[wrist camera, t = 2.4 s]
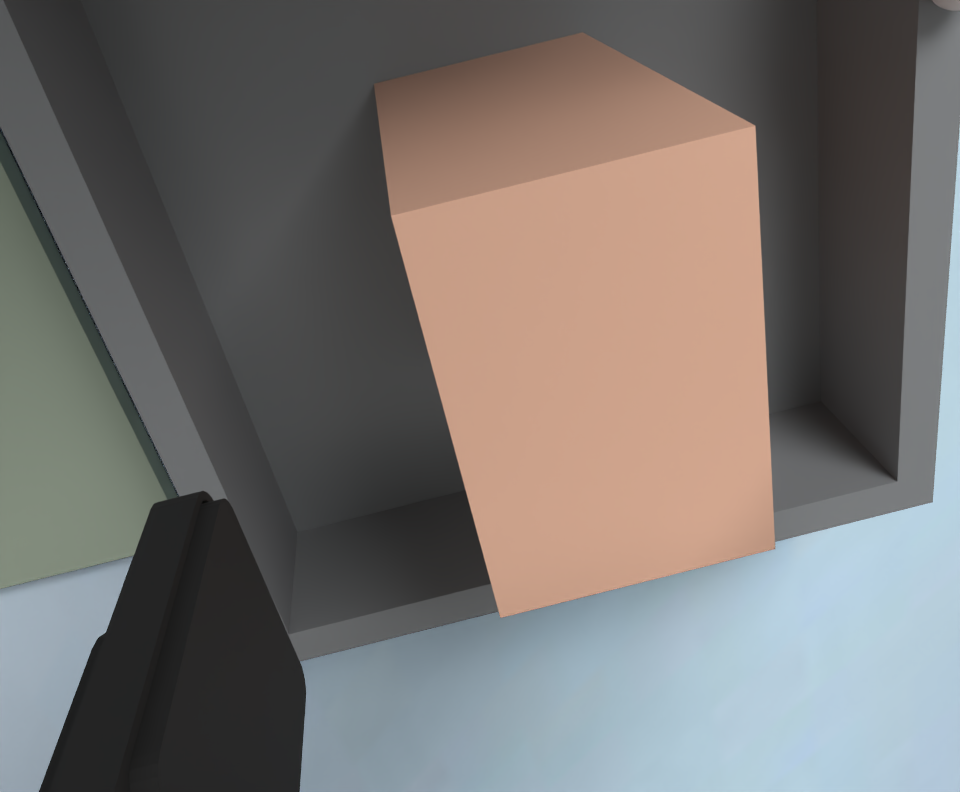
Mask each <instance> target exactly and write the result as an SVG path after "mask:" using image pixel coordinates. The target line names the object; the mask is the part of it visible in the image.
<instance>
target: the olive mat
mask: <svg viewBox="0 0 960 792" xmlns="http://www.w3.org/2000/svg"><path fill="white" fill-rule="evenodd" d="M176 497H178V496H177V494H176V492H175V490H174V488H173V485H172V483H171V481H170V479H169V477H168V475H167V473H166V471H165V469H164V467H163V465H162V463H161V461H160V459H159V457H158V455H157V453H156V451H155V448H154V446H153V444H152V442H151V440H150V438H149V436H148V434H147V432H146V430H145V428H144V426H143V424H142V422H141V420H140V418H139V416H138V413H137V411H136V409H135V407H134V405H133V403H132V401H131V399H130V397H129V395H128V393H127V391H126V389H125V387H124V385H123V383H122V381H121V378H120V376H119V374H118V372H117V370H116V368H115V366H114V364H113V362H112V360H111V358H110V356H109V354H108V352H107V350H106V348H105V346H104V344H103V341H102V339H101V337H100V335H99V333H98V331H97V329H96V327H95V325H94V323H93V321H92V319H91V317H90V315H89V313H88V311H87V309H86V306H85V304H84V302H83V300H82V298H81V296H80V294H79V292H78V290H77V288H76V286H75V284H74V282H73V280H72V278H71V276H70V274H69V271H68V269H67V267H66V265H65V263H64V261H63V259H62V257H61V255H60V253H59V251H58V249H57V247H56V245H55V243H54V241H53V239H52V236H51V234H50V232H49V230H48V228H47V226H46V224H45V222H44V220H43V218H42V216H41V214H40V212H39V210H38V208H37V206H36V204H35V202H34V199H33V197H32V195H31V193H30V191H29V189H28V187H27V185H26V183H25V181H24V179H23V177H22V175H21V173H20V171H19V169H18V167H17V164H16V162H15V160H14V158H13V156H12V154H11V152H10V150H9V148H8V146H7V144H6V142H5V140H4V138H3V136H2V134H1V132H0V589H2V588H6V587H10V586H14V585H18V584H22V583H26V582H30V581H34V580H38V579H42V578H46V577H50V576H54V575H58V574H62V573H66V572H70V571H74V570H78V569H82V568H86V567H90V566H94V565H98V564H102V563H106V562H110V561H114V560H118V559H122V558H126V557H130V556H134V554H135V551H136V548H137V545H138V543H139V540H140V537H141V534H142V531H143V529H144V526H145V523H146V520H147V518H148V515H149V512H150V509H151V508H152V506H153V504H154V503H157V502H160V501H164V500H168V499H172V498H176Z"/></svg>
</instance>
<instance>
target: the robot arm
mask: <svg viewBox="0 0 960 792" xmlns="http://www.w3.org/2000/svg"><path fill="white" fill-rule="evenodd" d="M305 702H306V686H305V679H304V674H303V670H302V666H301V664H300V661H299V659H298V656H297V654H296V652H295V650H294V647H293V645H292V643H291V640H290V638H289V636H288V634H287V631H286V629H285V627H284V624H283V622H282V620H281V617H280V615H279V613H278V611H277V608H276V606H275V604H274V601H273V599H272V597H271V595H270V592H269V590H268V588H267V585H266V583H265V581H264V579H263V576H262V574H261V572H260V569H259V567H258V565H257V563H256V560H255V558H254V556H253V553H252V551H251V549H250V547H249V544H248V542H247V540H246V537H245V535H244V533H243V531H242V528H241V526H240V524H239V521H238V519H237V517H236V515H235V512H234V510H233V508H232V506H231V504H230V503H229V502H228V500H226V499H224V498H223V499H219V500H215V501H214V500H213V499H212V497H211V496H210V495H209V494H208V492H205V491H200V492H196V493H192V494H188V495H184V496H180V497H176V498H172V499H168V500H164V501H160V502H157V503H154V504H153V506H152V508H151V509H150V512H149V515H148V518H147V520H146V523H145V526H144V529H143V531H142V534H141V537H140V540H139V543H138V545H137V548H136V551H135V554H134V556H133V559H132V562H131V565H130V568H129V570H128V573H127V576H126V579H125V581H124V584H123V587H122V590H121V593H120V595H119V598H118V601H117V604H116V606H115V609H114V612H113V615H112V618H111V620H110V623H109V626H108V629H107V631H106V633H105V634H103V635H102V636H100V637H99V638H98V639H97V641H96V643H95V645H94V646H93V648H92V650H91V653H90V656H89V659H88V661H87V664H86V667H85V669H84V672H83V675H82V677H81V680H80V683H79V685H78V688H77V691H76V694H75V696H74V699H73V702H72V704H71V707H70V710H69V712H68V715H67V718H66V720H65V723H64V726H63V729H62V731H61V734H60V737H59V739H58V742H57V745H56V747H55V750H54V753H53V755H52V758H51V761H50V764H49V766H48V769H47V772H46V774H45V777H44V780H43V782H42V785H41V788H40V790H39V792H299V791H300V776H301V761H302V746H303V732H304V717H305Z"/></svg>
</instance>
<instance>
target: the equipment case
mask: <svg viewBox="0 0 960 792" xmlns="http://www.w3.org/2000/svg"><path fill="white" fill-rule="evenodd" d="M582 32H583V33H585V34H587V35H588V36H590V37H592V38H594V39H596V40H598V41H600V42H601V43H603V44H605V45H607V46H609V47H611V48H613V49H614V50H616V51H618V52H620V53H622V54H624V55H625V56H627V57H629V58H631V59H633V60H635V61H637V62H638V63H640V64H642V65H644V66H646V67H648V68H650V69H651V70H653V71H655V72H657V73H659V74H661V75H663V76H664V77H666V78H668V79H670V80H672V81H674V82H675V83H677V84H679V85H681V86H683V87H685V88H687V89H688V90H690V91H692V92H694V93H696V94H698V95H700V96H701V97H703V98H705V99H707V100H709V101H711V102H713V103H714V104H716V105H718V106H720V107H722V108H724V109H725V110H727V111H729V112H731V113H733V114H735V115H737V116H738V117H740V118H742V119H744V120H746V121H748V122H750V123H751V124H753V125H755V127H756V149H757V170H758V192H759V213H760V234H761V256H762V277H763V298H764V320H765V341H766V362H767V384H768V405H769V426H770V448H771V469H772V491H773V512H774V533H775V542H776V541H780V540H784V539H788V538H792V537H796V536H800V535H804V534H808V533H812V532H816V531H820V530H824V529H828V528H832V527H836V526H840V525H844V524H848V523H852V522H856V521H860V520H864V519H867V518H871V517H875V516H879V515H883V514H887V513H891V512H895V511H899V510H903V509H907V508H911V507H915V506H919V505H923V504H927V503H931V502H933V489H934V475H935V461H936V447H937V433H938V419H939V405H940V391H941V377H942V363H943V349H944V335H945V321H946V307H947V293H948V279H949V265H950V251H951V237H952V223H953V209H954V195H955V181H956V167H957V153H958V139H959V125H960V0H0V127H1V129H2V132H3V134H4V136H5V138H6V140H7V142H8V144H9V146H10V148H11V150H12V152H13V154H14V156H15V158H16V160H17V162H18V165H19V167H20V169H21V171H22V173H23V175H24V177H25V179H26V181H27V183H28V185H29V187H30V189H31V191H32V193H33V195H34V198H35V200H36V202H37V204H38V206H39V208H40V210H41V212H42V214H43V216H44V218H45V220H46V222H47V224H48V226H49V228H50V231H51V233H52V235H53V237H54V239H55V241H56V243H57V245H58V247H59V249H60V251H61V253H62V255H63V257H64V259H65V261H66V264H67V266H68V268H69V270H70V272H71V274H72V276H73V278H74V280H75V282H76V284H77V286H78V288H79V290H80V292H81V294H82V297H83V299H84V301H85V303H86V305H87V307H88V309H89V311H90V313H91V315H92V317H93V319H94V321H95V323H96V325H97V327H98V330H99V332H100V334H101V336H102V338H103V340H104V342H105V344H106V346H107V348H108V350H109V352H110V354H111V356H112V358H113V360H114V363H115V365H116V367H117V369H118V371H119V373H120V375H121V377H122V379H123V381H124V383H125V385H126V387H127V389H128V391H129V393H130V396H131V398H132V400H133V402H134V404H135V406H136V408H137V410H138V412H139V414H140V416H141V418H142V420H143V422H144V424H145V426H146V429H147V431H148V433H149V435H150V437H151V439H152V441H153V443H154V445H155V447H156V449H157V451H158V453H159V455H160V457H161V460H162V462H163V464H164V466H165V468H166V470H167V472H168V474H169V476H170V478H171V480H172V482H173V484H174V486H175V488H176V490H177V493H178V495H179V497H180V496H184V495H188V494H192V493H196V492H200V491H205V492H208V494H209V495H210V496H211V497H212V499H213V500H214V501H215V500H219V499H223V498H224V499H226V500H228V502H229V503H230V504H231V506H232V508H233V510H234V512H235V515H236V517H237V519H238V521H239V524H240V526H241V528H242V531H243V533H244V535H245V537H246V540H247V542H248V544H249V547H250V549H251V551H252V553H253V556H254V558H255V560H256V563H257V565H258V567H259V569H260V572H261V574H262V576H263V579H264V581H265V583H266V585H267V588H268V590H269V592H270V595H271V597H272V599H273V601H274V604H275V606H276V608H277V611H278V613H279V615H280V617H281V620H282V622H283V624H284V627H285V629H286V631H287V634H288V636H289V638H290V640H291V643H292V645H293V647H294V650H295V652H296V654H297V656H298V659H299V661H303V660H307V659H311V658H315V657H319V656H323V655H327V654H331V653H335V652H339V651H343V650H347V649H351V648H355V647H359V646H363V645H367V644H371V643H375V642H379V641H383V640H387V639H391V638H395V637H399V636H403V635H407V634H411V633H415V632H419V631H423V630H427V629H431V628H434V627H438V626H442V625H446V624H450V623H454V622H458V621H462V620H466V619H470V618H474V617H478V616H482V615H486V614H490V613H494V612H498V607H497V603H496V600H495V596H494V592H493V589H492V585H491V581H490V578H489V574H488V570H487V567H486V563H485V559H484V556H483V552H482V548H481V545H480V541H479V537H478V534H477V530H476V526H475V523H474V519H473V515H472V512H471V508H470V504H469V501H468V497H467V493H466V490H465V486H464V482H463V479H462V475H461V471H460V468H459V464H458V460H457V456H456V453H455V449H454V445H453V442H452V438H451V434H450V431H449V427H448V423H447V420H446V416H445V412H444V409H443V405H442V401H441V398H440V394H439V390H438V387H437V383H436V379H435V376H434V372H433V368H432V365H431V361H430V357H429V354H428V350H427V346H426V343H425V339H424V335H423V332H422V328H421V324H420V321H419V317H418V313H417V310H416V306H415V302H414V299H413V295H412V291H411V288H410V284H409V280H408V277H407V273H406V269H405V265H404V262H403V258H402V254H401V251H400V247H399V243H398V240H397V236H396V232H395V229H394V225H393V221H392V218H391V212H390V204H389V197H388V189H387V181H386V174H385V166H384V158H383V151H382V143H381V135H380V127H379V120H378V112H377V104H376V97H375V89H374V84H375V83H379V82H383V81H387V80H391V79H395V78H399V77H403V76H407V75H412V74H416V73H420V72H424V71H428V70H432V69H436V68H440V67H444V66H448V65H452V64H456V63H460V62H464V61H468V60H472V59H476V58H481V57H485V56H489V55H493V54H497V53H501V52H505V51H509V50H513V49H517V48H521V47H525V46H529V45H533V44H537V43H541V42H545V41H549V40H554V39H558V38H562V37H566V36H570V35H574V34H578V33H582Z"/></svg>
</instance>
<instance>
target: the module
mask: <svg viewBox="0 0 960 792" xmlns="http://www.w3.org/2000/svg"><path fill="white" fill-rule="evenodd" d="M374 89H375V97H376V104H377V112H378V120H379V127H380V135H381V143H382V151H383V158H384V166H385V174H386V181H387V189H388V197H389V204H390V212H391V218H392V221H393V225H394V229H395V232H396V236H397V240H398V243H399V247H400V251H401V254H402V258H403V262H404V265H405V269H406V273H407V277H408V280H409V284H410V288H411V291H412V295H413V299H414V302H415V306H416V310H417V313H418V317H419V321H420V324H421V328H422V332H423V335H424V339H425V343H426V346H427V350H428V354H429V357H430V361H431V365H432V368H433V372H434V376H435V379H436V383H437V387H438V390H439V394H440V398H441V401H442V405H443V409H444V412H445V416H446V420H447V423H448V427H449V431H450V434H451V438H452V442H453V445H454V449H455V453H456V456H457V460H458V464H459V468H460V471H461V475H462V479H463V482H464V486H465V490H466V493H467V497H468V501H469V504H470V508H471V512H472V515H473V519H474V523H475V526H476V530H477V534H478V537H479V541H480V545H481V548H482V552H483V556H484V559H485V563H486V567H487V570H488V574H489V578H490V581H491V585H492V589H493V592H494V596H495V600H496V603H497V607H498V611H499V614H500V618H502V617H506V616H510V615H514V614H518V613H522V612H526V611H530V610H534V609H538V608H542V607H546V606H550V605H554V604H558V603H562V602H566V601H570V600H574V599H578V598H582V597H586V596H590V595H594V594H598V593H602V592H606V591H610V590H614V589H618V588H622V587H626V586H630V585H634V584H637V583H641V582H645V581H649V580H653V579H657V578H661V577H665V576H669V575H673V574H677V573H681V572H685V571H689V570H693V569H697V568H701V567H705V566H709V565H713V564H717V563H721V562H725V561H729V560H733V559H737V558H741V557H745V556H749V555H753V554H757V553H761V552H765V551H769V550H773V549H775V533H774V512H773V491H772V469H771V448H770V426H769V405H768V384H767V362H766V341H765V320H764V298H763V277H762V256H761V234H760V213H759V192H758V170H757V149H756V127H755V125H753V124H751V123H750V122H748V121H746V120H744V119H742V118H740V117H738V116H737V115H735V114H733V113H731V112H729V111H727V110H725V109H724V108H722V107H720V106H718V105H716V104H714V103H713V102H711V101H709V100H707V99H705V98H703V97H701V96H700V95H698V94H696V93H694V92H692V91H690V90H688V89H687V88H685V87H683V86H681V85H679V84H677V83H675V82H674V81H672V80H670V79H668V78H666V77H664V76H663V75H661V74H659V73H657V72H655V71H653V70H651V69H650V68H648V67H646V66H644V65H642V64H640V63H638V62H637V61H635V60H633V59H631V58H629V57H627V56H625V55H624V54H622V53H620V52H618V51H616V50H614V49H613V48H611V47H609V46H607V45H605V44H603V43H601V42H600V41H598V40H596V39H594V38H592V37H590V36H588V35H587V34H585V33H583V32H582V33H578V34H574V35H570V36H566V37H562V38H558V39H554V40H549V41H545V42H541V43H537V44H533V45H529V46H525V47H521V48H517V49H513V50H509V51H505V52H501V53H497V54H493V55H489V56H485V57H481V58H476V59H472V60H468V61H464V62H460V63H456V64H452V65H448V66H444V67H440V68H436V69H432V70H428V71H424V72H420V73H416V74H412V75H407V76H403V77H399V78H395V79H391V80H387V81H383V82H379V83H375V84H374Z"/></svg>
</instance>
